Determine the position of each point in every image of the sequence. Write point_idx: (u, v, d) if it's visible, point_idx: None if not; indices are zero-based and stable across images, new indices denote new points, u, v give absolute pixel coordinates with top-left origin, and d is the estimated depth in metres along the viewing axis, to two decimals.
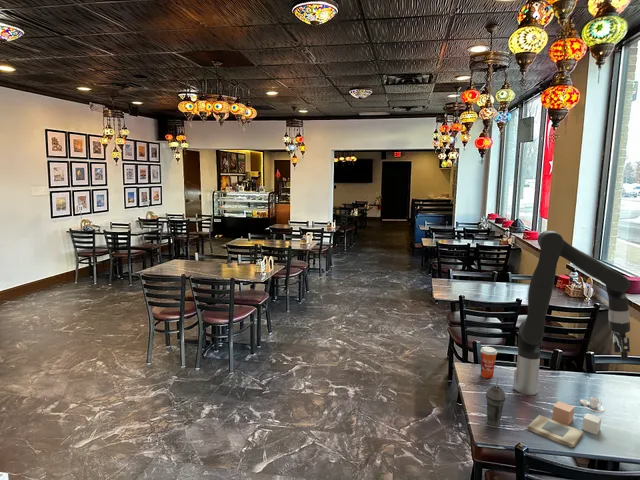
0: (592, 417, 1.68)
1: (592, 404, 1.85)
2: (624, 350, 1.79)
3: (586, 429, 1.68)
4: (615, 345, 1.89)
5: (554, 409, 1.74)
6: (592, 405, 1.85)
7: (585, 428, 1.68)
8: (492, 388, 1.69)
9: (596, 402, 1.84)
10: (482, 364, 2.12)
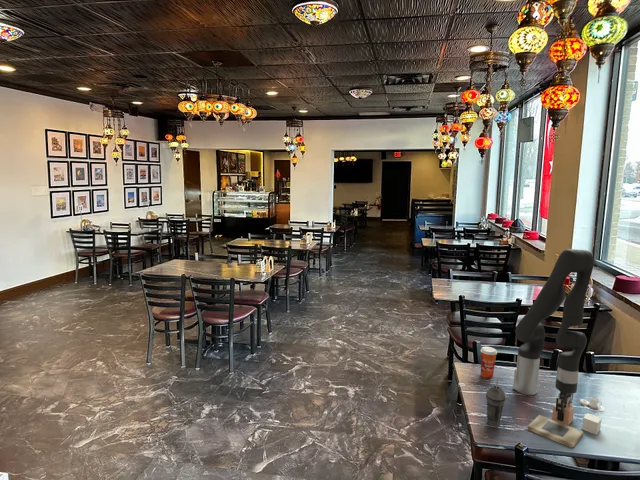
0: (592, 417, 1.68)
1: (592, 404, 1.85)
2: (557, 410, 1.71)
3: (586, 429, 1.68)
4: None
5: (554, 409, 1.75)
6: (592, 405, 1.85)
7: (585, 428, 1.68)
8: (492, 388, 1.69)
9: (596, 402, 1.84)
10: (482, 364, 2.12)
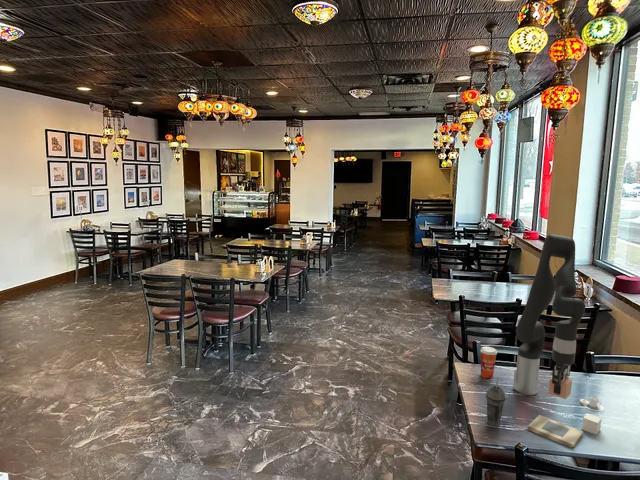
0: (591, 417, 1.68)
1: (592, 404, 1.86)
2: (553, 382, 1.60)
3: (586, 429, 1.68)
4: None
5: (550, 382, 1.63)
6: (592, 405, 1.86)
7: (585, 428, 1.68)
8: (492, 388, 1.69)
9: (596, 402, 1.85)
10: (482, 364, 2.12)
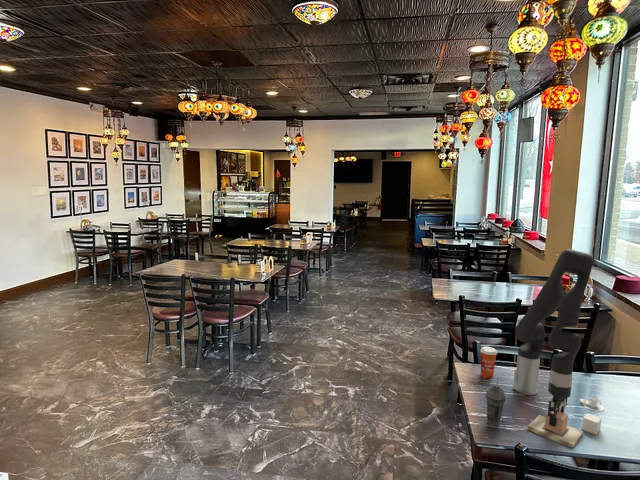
0: (591, 417, 1.68)
1: (591, 403, 1.86)
2: (549, 414, 1.61)
3: (586, 429, 1.68)
4: None
5: (547, 417, 1.65)
6: (591, 404, 1.86)
7: (585, 428, 1.68)
8: (492, 388, 1.69)
9: (595, 401, 1.85)
10: (482, 364, 2.12)
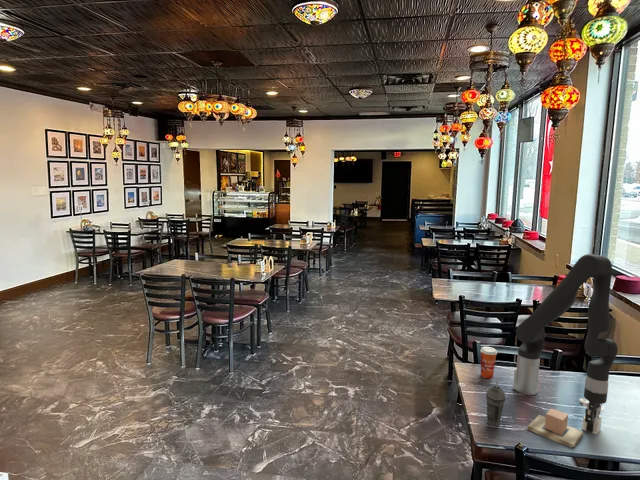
0: None
1: None
2: (586, 420, 1.65)
3: None
4: None
5: (547, 417, 1.65)
6: None
7: (585, 428, 1.68)
8: (492, 388, 1.69)
9: None
10: (482, 364, 2.12)
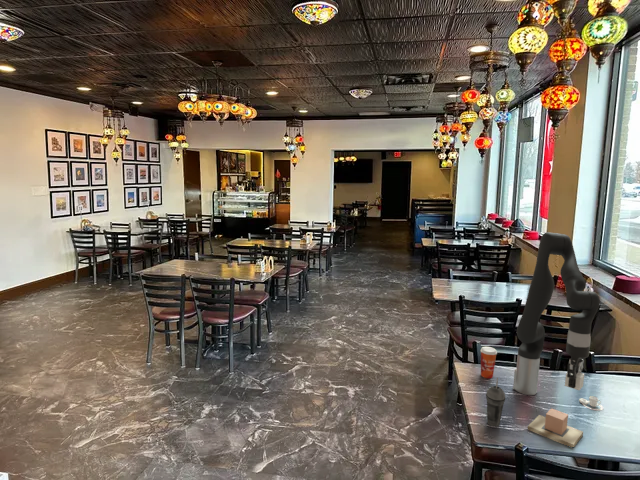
0: None
1: (591, 403, 1.86)
2: (568, 376, 1.60)
3: None
4: None
5: (547, 417, 1.65)
6: (591, 404, 1.86)
7: None
8: (492, 388, 1.69)
9: (595, 401, 1.85)
10: (482, 364, 2.12)
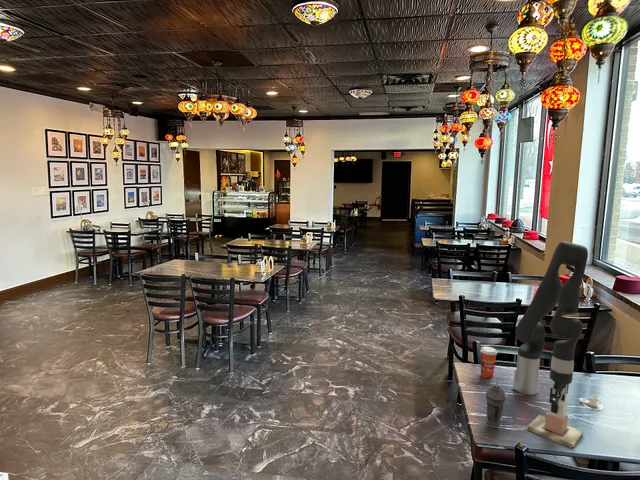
0: None
1: (591, 402, 1.86)
2: (550, 401, 1.60)
3: (552, 414, 1.64)
4: None
5: (547, 417, 1.65)
6: (591, 403, 1.87)
7: (551, 413, 1.64)
8: (492, 388, 1.69)
9: (595, 401, 1.85)
10: (482, 364, 2.12)
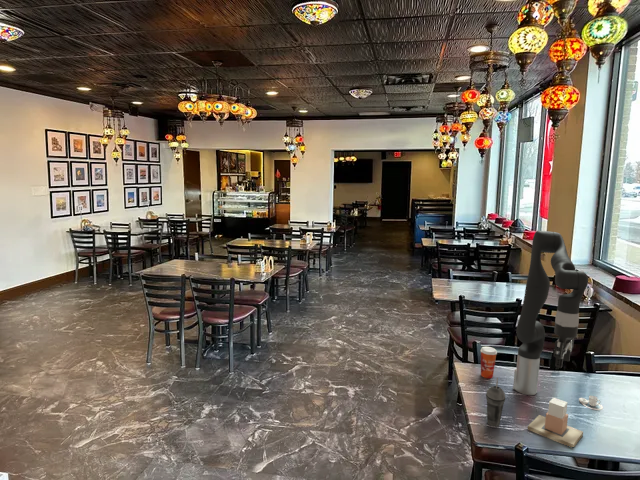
0: (557, 401, 1.65)
1: (591, 402, 1.87)
2: (555, 355, 1.57)
3: (552, 414, 1.64)
4: None
5: (547, 417, 1.65)
6: (591, 403, 1.87)
7: (551, 413, 1.64)
8: (492, 388, 1.69)
9: (595, 400, 1.86)
10: (482, 364, 2.12)
